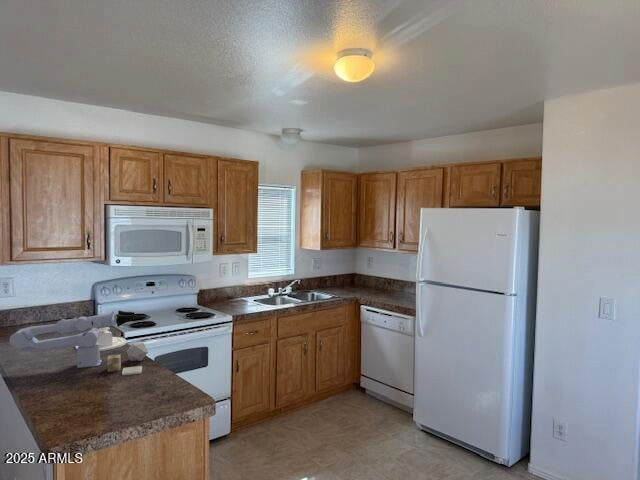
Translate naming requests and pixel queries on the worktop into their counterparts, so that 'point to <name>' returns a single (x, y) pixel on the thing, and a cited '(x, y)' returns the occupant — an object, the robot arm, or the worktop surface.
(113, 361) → the maple block
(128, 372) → the tray
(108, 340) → the dish
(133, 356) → the die
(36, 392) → the worktop surface
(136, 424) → the worktop surface
